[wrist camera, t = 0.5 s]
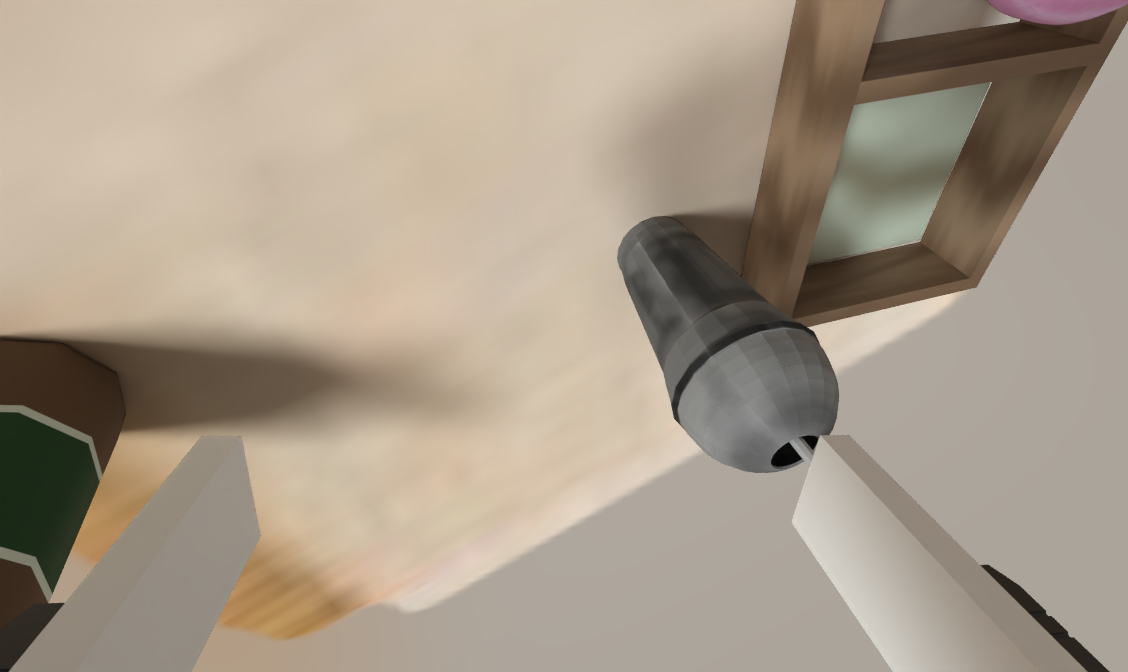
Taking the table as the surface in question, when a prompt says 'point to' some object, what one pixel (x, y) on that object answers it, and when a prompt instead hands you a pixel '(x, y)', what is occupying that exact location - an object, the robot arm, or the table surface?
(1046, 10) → the cupcake
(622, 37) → the table surface
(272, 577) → the table surface
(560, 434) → the table surface
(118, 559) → the robot arm
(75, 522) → the beer bottle
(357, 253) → the table surface
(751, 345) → the beverage cup
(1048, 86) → the tray
